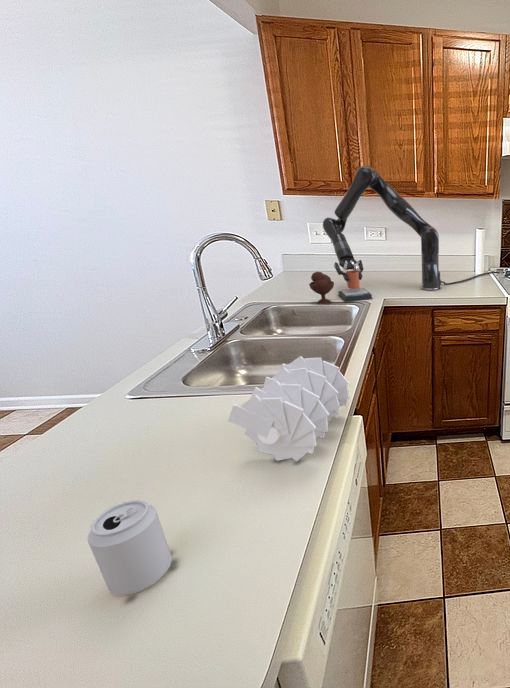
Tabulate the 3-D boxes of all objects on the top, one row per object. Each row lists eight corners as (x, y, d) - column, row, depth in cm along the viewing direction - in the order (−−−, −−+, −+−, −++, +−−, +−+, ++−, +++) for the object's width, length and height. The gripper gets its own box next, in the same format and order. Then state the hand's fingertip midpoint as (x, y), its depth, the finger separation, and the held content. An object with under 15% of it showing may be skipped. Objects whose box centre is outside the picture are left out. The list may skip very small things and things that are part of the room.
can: (104, 578, 59) (77, 517, 55) (164, 545, 65) (144, 487, 61) (117, 610, 55) (90, 547, 51) (180, 572, 61) (160, 512, 56)
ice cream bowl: (328, 306, 184) (324, 274, 179) (306, 304, 186) (302, 273, 181) (340, 300, 194) (337, 270, 189) (319, 298, 196) (316, 268, 191)
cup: (357, 285, 203) (356, 269, 200) (361, 288, 198) (360, 272, 195) (345, 286, 200) (344, 271, 197) (349, 289, 195) (347, 273, 192)
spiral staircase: (341, 422, 105) (296, 486, 82) (278, 393, 103) (214, 451, 80) (366, 366, 100) (327, 418, 76) (301, 335, 98) (239, 378, 74)
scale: (363, 292, 208) (363, 287, 207) (371, 298, 198) (371, 293, 197) (338, 295, 202) (338, 289, 201) (345, 302, 191) (344, 296, 190)
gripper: (330, 248, 193) (341, 277, 189) (358, 246, 202) (369, 273, 197) (327, 257, 199) (338, 285, 195) (355, 255, 207) (366, 282, 203)
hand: (354, 279), depth 196 cm, fingers closed on cup, 6 cm apart
